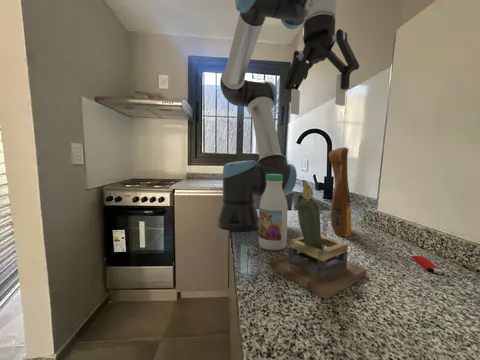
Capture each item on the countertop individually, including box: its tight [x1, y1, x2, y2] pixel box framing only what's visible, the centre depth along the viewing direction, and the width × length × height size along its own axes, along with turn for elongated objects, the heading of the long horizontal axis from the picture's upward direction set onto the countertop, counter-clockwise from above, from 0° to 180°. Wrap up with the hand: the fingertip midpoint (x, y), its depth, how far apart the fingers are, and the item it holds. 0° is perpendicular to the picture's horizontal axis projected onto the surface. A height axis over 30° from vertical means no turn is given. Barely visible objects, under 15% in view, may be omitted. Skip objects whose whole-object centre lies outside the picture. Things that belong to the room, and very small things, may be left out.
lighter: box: [411, 255, 446, 276], centre depth 52 cm, size 3×1×8 cm
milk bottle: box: [258, 174, 289, 251], centre depth 62 cm, size 8×8×20 cm
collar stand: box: [269, 235, 368, 300], centre depth 48 cm, size 14×14×6 cm
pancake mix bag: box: [328, 146, 353, 238], centre depth 76 cm, size 7×19×28 cm, turn 165°
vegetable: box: [297, 179, 324, 263], centre depth 47 cm, size 4×4×20 cm
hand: (315, 110), depth 58 cm, fingers open, 13 cm apart
